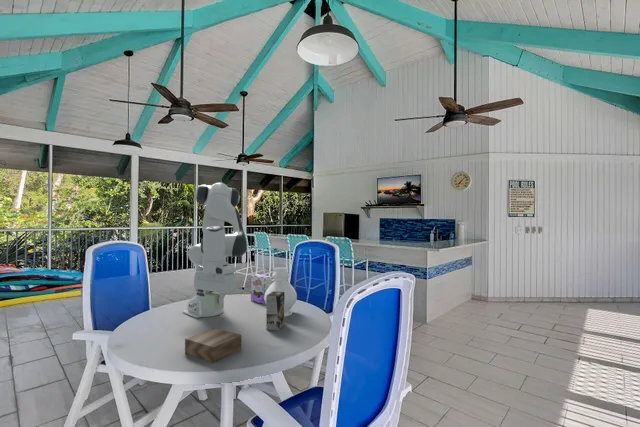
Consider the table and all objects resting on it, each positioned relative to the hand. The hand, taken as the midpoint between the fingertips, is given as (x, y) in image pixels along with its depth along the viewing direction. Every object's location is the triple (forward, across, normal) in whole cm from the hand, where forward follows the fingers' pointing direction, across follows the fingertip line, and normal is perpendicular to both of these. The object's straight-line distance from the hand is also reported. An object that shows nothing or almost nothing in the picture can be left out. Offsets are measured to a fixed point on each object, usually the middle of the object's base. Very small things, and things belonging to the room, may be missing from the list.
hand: (214, 302), depth 124 cm
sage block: (+3, 0, 0) cm, 3 cm away
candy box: (+19, -30, +66) cm, 75 cm away
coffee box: (+19, +5, +34) cm, 39 cm away
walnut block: (+20, 0, 0) cm, 20 cm away
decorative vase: (+19, -5, +52) cm, 56 cm away
